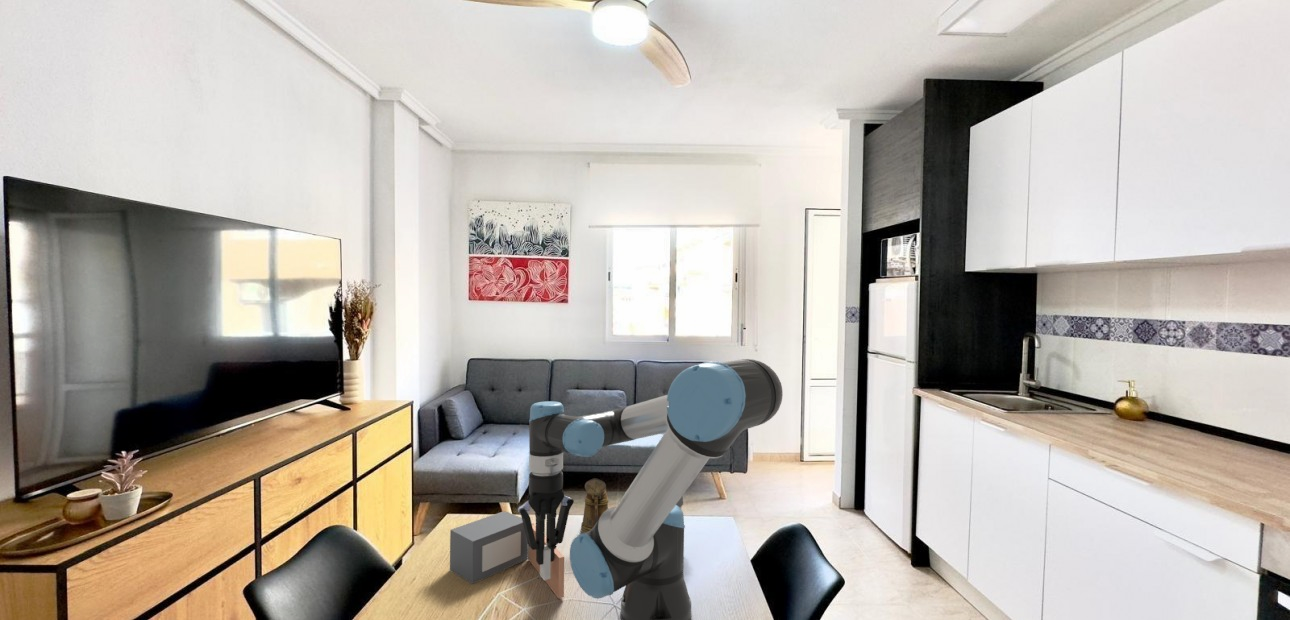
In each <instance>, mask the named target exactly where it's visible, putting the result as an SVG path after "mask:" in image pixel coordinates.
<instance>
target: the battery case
mask: <svg viewBox="0 0 1290 620" xmlns="http://www.w3.org/2000/svg"><path fill="white" fill-rule="evenodd" d="M449 532H450V533H449V534H450V536H449V537H450V539H449V542H450V543H449V571H450V572H452V573H454V574H455V575H457V576H458V577H461V578H462V579H464V580H465V581H467V582H468V583H471V585H474V584H476V583H478V582H481V581H483V580H484V579H487V578H490V577H492V576H493V575H496V574H498V573H500V572H502V571H505V570H507V569H509V568H511V567H513V566H515V565H518V564H520V563H522V562H524V561H528V542H527V538H526V534H525V530H524V525H523V521H522V517H521V516H518V515H515V514H514V513H511V512H508V511H506V510H503V511H501V512H498V513H495V514H492V515H488V516H486V517H483V518H481V519H478V520H474V521H471V522H468V523H466V524H462V525H460V526H458V527H457V526H456V527H455V528H451V529H450V531H449Z"/></svg>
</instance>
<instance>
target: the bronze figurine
mask: <svg viewBox="0 0 1290 620" xmlns="http://www.w3.org/2000/svg"><path fill="white" fill-rule="evenodd" d="M584 489H585V491H586V493H585V494H586V495H585V496H584V497H585V498H584V503H585V504H584V509H583V510H584V511H583V516H582V522H581V526H580V531H581V532H582V533H586V532H589V531H590V530H591V529H592V528H593V527H594V526H595V524H596V523H597V521H598V520H599V518H600V516H601V515H602V514H603V513H604V512H605V511H606V510H607V509H609V505H608V504H609V497H608V494H607V492H608V491H607V485H606V483H605V481H603V480H602V479H599V478H596V477H593V478H592V479H589V480H587V481H585V484H584Z"/></svg>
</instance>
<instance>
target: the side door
mask: <svg viewBox="0 0 1290 620" xmlns="http://www.w3.org/2000/svg"><path fill="white" fill-rule="evenodd" d="M531 523H532V528H533V532H534V536H535V540H536V524H535V522H531ZM545 545H547V543H546V535H545ZM527 561H529V562H530V563H531V565H532V566H533V567H534V569H535V570H536V571H537V572H538V574H539V575H540V565H539V564H538V563H537V561H536V549H535V550H532V549H531V548H530V546H529V545H528V557H527ZM544 581H545V582H546V584H547V585H548V586H549V588H550V590H552V592H553V593H554V595H555V596H556V597H557V598H558V599H562V598H565V556H564V555H563V554H562V552H561V551H560V550H559V549H558V548H557V547H556V549H554V561H552V562H551V565H550V579H548V580H544Z"/></svg>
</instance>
